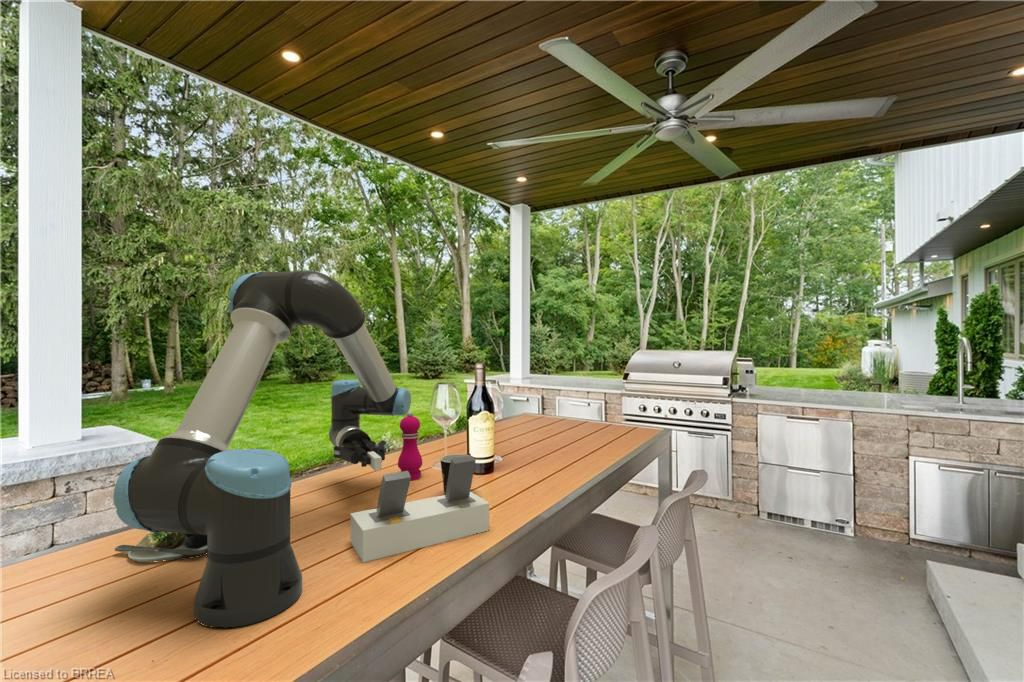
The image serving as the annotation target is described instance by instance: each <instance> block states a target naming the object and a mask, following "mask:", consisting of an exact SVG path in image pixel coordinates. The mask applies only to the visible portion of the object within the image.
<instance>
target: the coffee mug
mask: <svg viewBox="0 0 1024 682" xmlns="http://www.w3.org/2000/svg"><path fill="white" fill-rule="evenodd" d="M467 456H470V455H469V454H461V453H460V454H459V453H455V454H454V453H453V454H447V455H444V456H442V457H441V458H440V466H441V467H440V468H441V476H442V483H443V485H442V486H443V493H444V495H445V494H446V487H447V481H448V475H449V469H450V463H451V459H454V458H461V457H467Z"/></svg>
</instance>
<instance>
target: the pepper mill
mask: <svg viewBox="0 0 1024 682" xmlns="http://www.w3.org/2000/svg"><path fill="white" fill-rule="evenodd" d="M413 415H414V412H413V411H411V410H409V411H408V413H407V414H406V416H404V417H403V418H402V419H401V420H400V422H399V429H400V430H401V438H402V441H403V442H402V449H401V451H400V454H399V456H398V460H397V466H398V468H399V470H400V471H399V472H403V471H408V472H409V474H410V476H411V479H410V480H411V481H416V480H415V479H417V480H419V479H421V477H422V471H421V470H420V468H422V467H423V458H422V455H421V453H420V451H419V446H418V438H419V430H420V428H421V421H420V419H419V418H418V417H417V416H413ZM418 478H419V479H418Z"/></svg>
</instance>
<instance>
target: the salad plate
mask: <svg viewBox="0 0 1024 682" xmlns="http://www.w3.org/2000/svg"><path fill="white" fill-rule="evenodd" d="M114 552H118V553H125V554H127V557H128V558H129V559H131V560H133V561H135V562H138V563H146V562H154V561H162V562H164V561H163V560H171V561H174V560H173V559H180V560H183V559H182V558H188V559H191V558H190V557H194V558H197V557H196V556H199V557H201V556H200V555H203V554H206V553H207V535H200V534H187V533H175V532H157V533H153V532H150V533H146V535H145V536H144V537H143V538H141V540H140V541H139V542H138V543H137V544H136V545H131V544H129V545H128V544H121V545H118V546H115V548H114ZM206 555H207V554H206ZM203 556H204V555H203Z"/></svg>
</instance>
